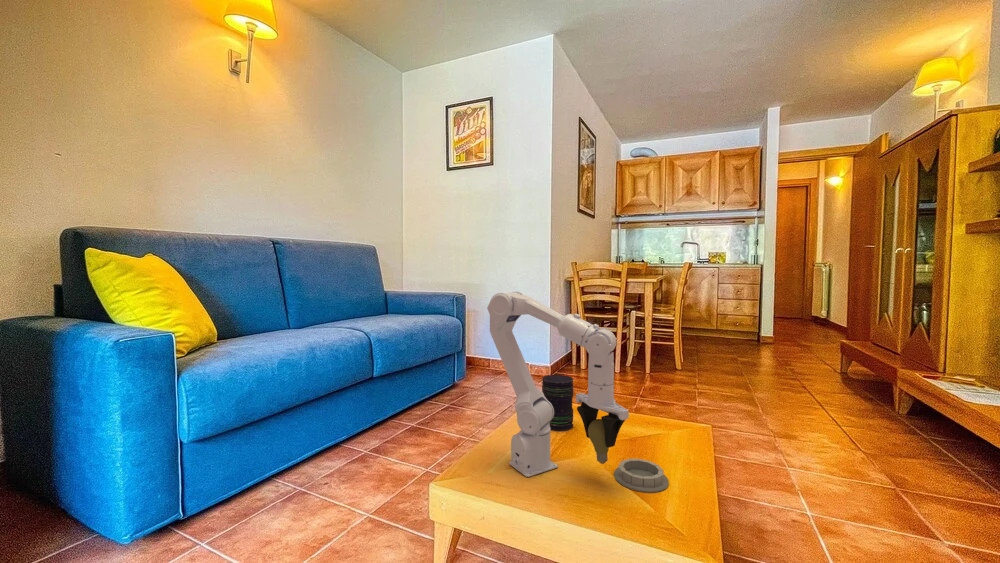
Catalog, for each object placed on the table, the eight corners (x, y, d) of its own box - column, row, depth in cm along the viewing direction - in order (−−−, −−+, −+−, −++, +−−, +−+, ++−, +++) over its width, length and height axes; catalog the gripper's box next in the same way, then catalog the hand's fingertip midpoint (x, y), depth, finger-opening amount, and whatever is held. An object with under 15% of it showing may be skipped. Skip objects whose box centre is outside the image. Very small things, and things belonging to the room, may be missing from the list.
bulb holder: (645, 498, 85) (645, 486, 85) (603, 474, 95) (603, 464, 95) (679, 483, 91) (679, 472, 91) (636, 462, 102) (637, 452, 102)
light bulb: (598, 470, 88) (595, 425, 88) (585, 460, 94) (582, 418, 94) (620, 465, 90) (617, 421, 90) (606, 456, 95) (603, 414, 95)
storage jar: (569, 419, 132) (569, 374, 131) (576, 431, 122) (577, 382, 122) (539, 420, 131) (539, 374, 131) (544, 431, 121) (544, 382, 121)
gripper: (638, 387, 88) (637, 449, 88) (590, 373, 100) (590, 427, 100) (615, 392, 84) (615, 456, 84) (569, 377, 96) (569, 433, 96)
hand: (600, 441), depth 92 cm, fingers closed on light bulb, 5 cm apart
